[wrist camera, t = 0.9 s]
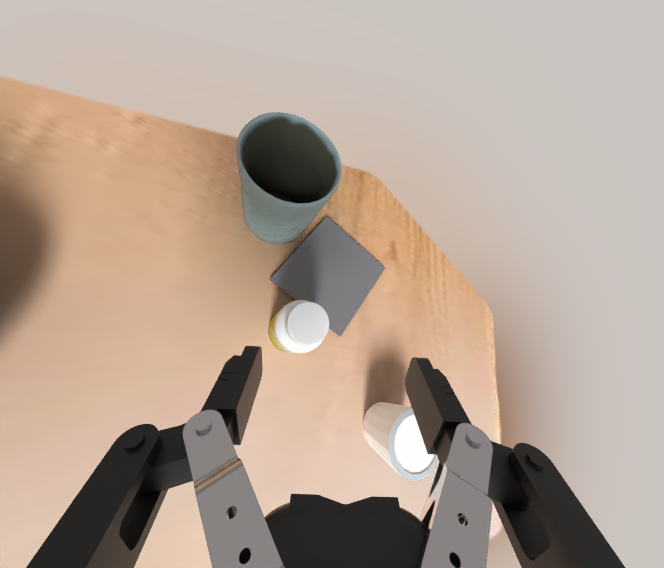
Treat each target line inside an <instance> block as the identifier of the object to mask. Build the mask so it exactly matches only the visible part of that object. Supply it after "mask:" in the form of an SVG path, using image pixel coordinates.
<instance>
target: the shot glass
mask: <svg viewBox="0 0 664 568" xmlns="http://www.w3.org/2000/svg"><path fill="white" fill-rule="evenodd" d="M363 432H364V436H365V439H366V440H367V441H368V443H369V444H370V445H371V446H372V447H373V448H374V449H375V450H376V451H377V452H378V453H379V454H380V455H381V456H382V458H383V459H384V460H385V461H386V462H387V463H388V464H389V465H390V466H391V467H392V468H393V469H394V470H395V471H396V472H397V473H398V474H399V475H400V476H402V477H404V478H406V479H408V480H410V481H414V480H422V479H423V478H425V477H426V476H428V475H429V474H430V473H431V472H432V470H433V469H434V467H435V466H436V464H437V462H438V457H437V455H436V454H428V453H427V450H426V447H425V444H424V441H423V438H422V436H421V433H420V430H419V427H418V424H417V421H416V418H415V415H414V412H413V409H412V407H408V406H403V405H397V404H392V403H387V402H377V403H375V404H373V405H372V406H371V407H370V408H369V409H368V410H367V411H366V414H365V417H364V419H363Z"/></svg>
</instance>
